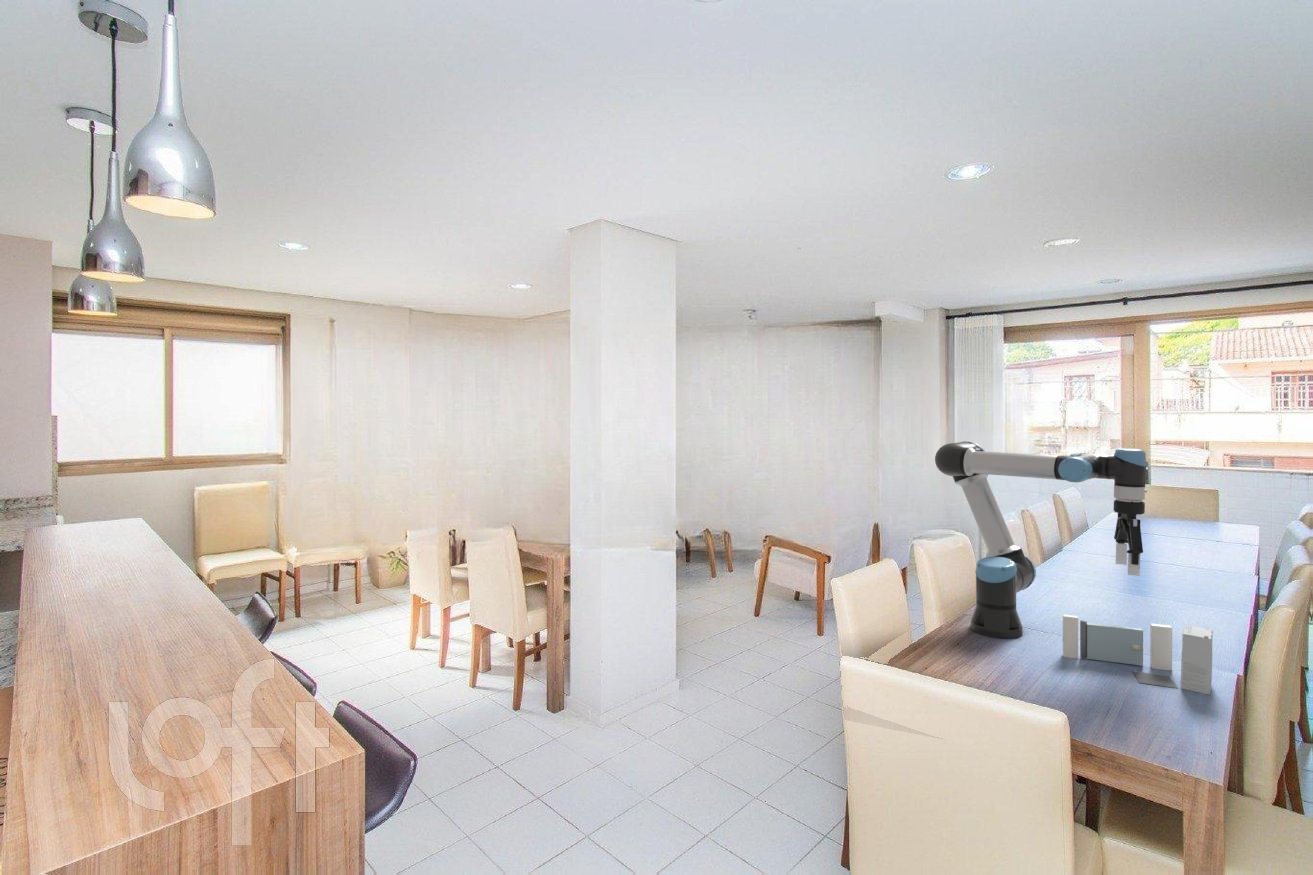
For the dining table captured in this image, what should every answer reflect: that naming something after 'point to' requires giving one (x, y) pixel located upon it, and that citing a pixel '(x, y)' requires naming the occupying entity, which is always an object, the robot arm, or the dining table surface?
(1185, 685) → the skincare box
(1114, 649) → the door
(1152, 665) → the wall
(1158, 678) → the mat
